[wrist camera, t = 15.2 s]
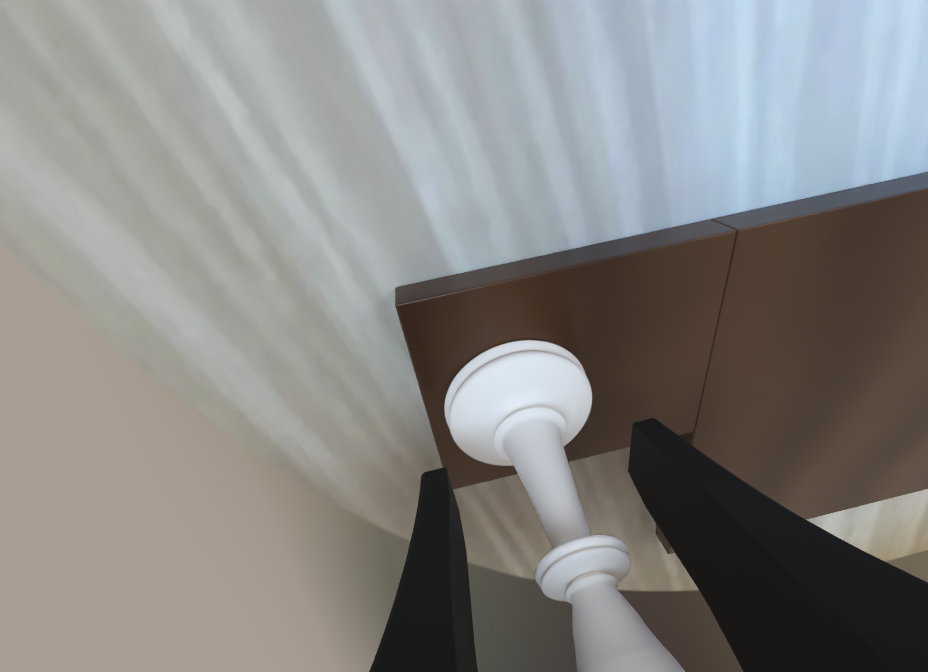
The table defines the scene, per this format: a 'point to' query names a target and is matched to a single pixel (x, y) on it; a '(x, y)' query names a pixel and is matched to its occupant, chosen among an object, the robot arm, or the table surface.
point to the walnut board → (722, 342)
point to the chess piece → (554, 491)
